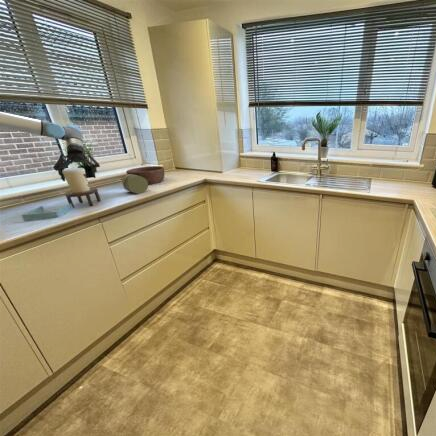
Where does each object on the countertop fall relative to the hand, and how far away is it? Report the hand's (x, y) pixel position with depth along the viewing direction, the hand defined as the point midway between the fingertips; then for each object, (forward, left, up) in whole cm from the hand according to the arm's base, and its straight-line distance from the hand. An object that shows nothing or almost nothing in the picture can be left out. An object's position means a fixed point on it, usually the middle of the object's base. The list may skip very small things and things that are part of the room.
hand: (78, 178), depth 134 cm
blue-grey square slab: (-9, -17, -14) cm, 24 cm away
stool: (+1, -4, -14) cm, 15 cm away
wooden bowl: (+21, +45, -14) cm, 52 cm away
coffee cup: (+1, -4, -6) cm, 8 cm away
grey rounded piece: (+21, +16, -14) cm, 30 cm away
